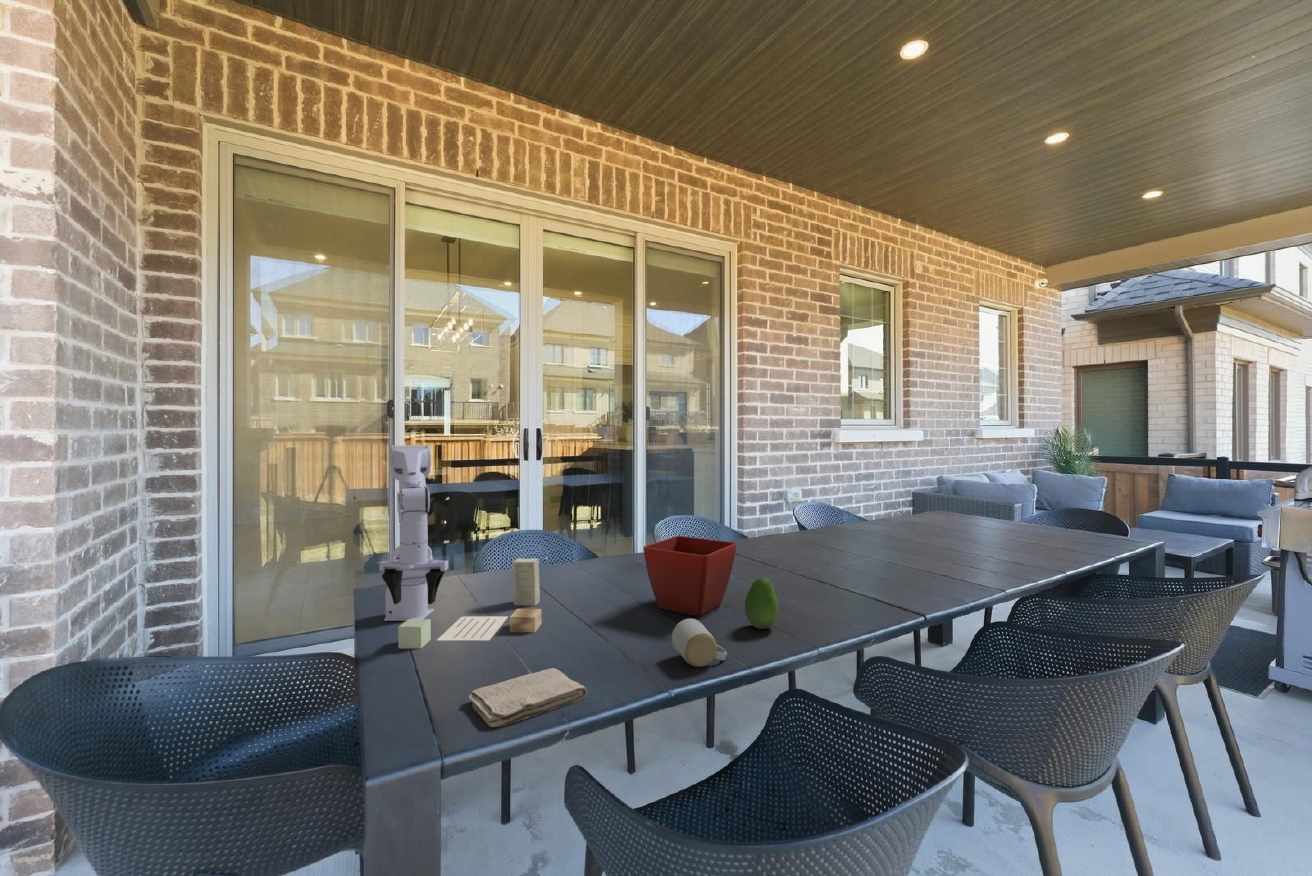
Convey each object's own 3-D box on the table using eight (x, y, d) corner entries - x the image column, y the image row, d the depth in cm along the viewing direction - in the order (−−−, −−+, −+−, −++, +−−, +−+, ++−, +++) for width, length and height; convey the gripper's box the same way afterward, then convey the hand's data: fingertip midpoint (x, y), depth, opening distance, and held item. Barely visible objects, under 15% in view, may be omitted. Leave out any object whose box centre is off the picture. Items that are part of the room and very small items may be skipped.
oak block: (509, 633, 130) (509, 617, 130) (517, 624, 136) (517, 608, 136) (535, 634, 130) (534, 617, 130) (541, 625, 136) (541, 609, 136)
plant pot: (738, 603, 152) (738, 542, 152) (706, 624, 136) (706, 555, 136) (678, 592, 162) (677, 535, 162) (641, 610, 146) (641, 547, 146)
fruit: (784, 627, 133) (784, 577, 133) (766, 636, 127) (766, 584, 127) (756, 619, 138) (756, 572, 138) (738, 628, 133) (738, 578, 132)
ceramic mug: (685, 671, 109) (685, 633, 109) (671, 655, 117) (671, 619, 117) (734, 665, 112) (734, 627, 112) (716, 650, 120) (717, 614, 120)
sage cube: (398, 649, 121) (398, 627, 121) (408, 641, 126) (408, 619, 126) (421, 649, 121) (420, 627, 121) (430, 641, 126) (430, 619, 126)
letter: (436, 641, 125) (436, 640, 125) (461, 617, 141) (461, 616, 141) (489, 641, 125) (489, 640, 125) (508, 617, 141) (508, 616, 141)
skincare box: (540, 601, 154) (539, 558, 154) (535, 606, 150) (534, 561, 149) (518, 601, 155) (518, 557, 155) (512, 606, 150) (512, 561, 150)
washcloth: (464, 706, 97) (464, 688, 97) (555, 676, 108) (555, 661, 108) (491, 735, 88) (491, 715, 88) (588, 699, 99) (588, 682, 99)
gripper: (371, 545, 119) (372, 608, 119) (439, 545, 119) (439, 608, 119) (387, 539, 126) (388, 598, 126) (451, 539, 126) (452, 598, 126)
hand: (414, 602), depth 123 cm, fingers open, 7 cm apart
